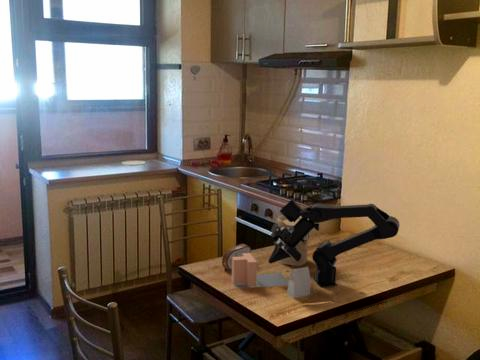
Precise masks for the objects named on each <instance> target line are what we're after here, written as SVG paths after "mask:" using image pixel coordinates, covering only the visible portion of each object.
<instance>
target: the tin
mask: <svg viewBox="0 0 480 360" xmlns="http://www.w3.org/2000/svg"><path fill="white" fill-rule="evenodd" d="M242 253H251V254H252V248H251V247H250V246H249V245H247V244H245V243H240V244H238V245H235V246H231V247H230V248H228V249H227V250H226V251H225V252H224V254H223V255H222V259H221V264H222V267H223V268H224V269H227V270H229V271H232V257H242Z"/></svg>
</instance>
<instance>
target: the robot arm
mask: <svg viewBox="0 0 480 360" xmlns="http://www.w3.org/2000/svg"><path fill="white" fill-rule="evenodd" d="M279 213H280V214H281V215H283V216H284V217H285V218H286V219H287V220H288V221H289V222H295V221H296V220H297V219H298V218H299V217H300V216H301V217H302V218H301V219H300V220H299V221H298V222H297V223H296V224H295V225H294V226H293V227H292V228H291V227H288V228H285V227H281V226H279V225H278V223H274V224H273V225H272V227H271V229H270V232H271V234H270V236H271V237H272V238H273V239H274V241H273V242H274V249H273V250H272V253H271V255H270V257H268V262H267V263H269V264H274V263H277V261H279V260H282V259H285V258H288V257H291V256H292V257H293V258H294V259H295V260H296V261H297V262H298V261H299V260H300V259H301V254H300V253H299V252H298V251H297V250H296V249H297V248H296V246H297V245H298V244H299V243H300V242H301V241H302V242H304V241H305V240H304V238H305V237H306V236H307V235H308V234H310V232H311V231H313V230H315V231H316V232H319V231H320V223H323V222H326V221H330V220H333V219H334V220H335V219H345V218H347V219H348V218H368V219H369V220H370V221H371V222H372V223H373V224H374V225H373V226H372V227H371V228H368V229H365V230H363V231H360V232H359V233H356V234H353V235H350V236H349V237H347V238H344V239H342V240H338V241H337V242H331V240H330V239H328V240H326V241H324V242H320V243H319V244H318V246H317V247H316V248H315V249H314V251H313V253H312V257H311V258H312V261H313V262H314V263H315V265H316V270H315V271H314V279H313V280H314V282H315V283H316V284H317V285H318V286H319V287H320V288H324V287H325V288H326V287H337V286H338V283H337V282H336V277H337V276H336V275H337V267H336V266H335V265H336V263H337V260H338V259H337V258H336V257H337V256H339V255H341V254H342V253H346V252H348V251H350V250H353V249H355V248H358V247H360V246H363V245H366V244H368V243H370V242H373V241H375V240H385V239H391V238H394V237H396V236H397V235H398V232H399V230H400V221H399V219H398V218H396V217H395V216H392V215H391V216H390V215H389V214H388V213H387V212H385V211H384V210H382V209H380V208H379V207H377V205H375V204H374V203H368V204H351V205H332V204H331V205H330V204H328V203H320V202H319V203H316V204H313V206H307V207H304V208H303V207H301V206H300V205H299V204H298V203H297V202H296V200H295V199H294V198H291V199H290V201H288V202H287V203H286V204H285V205H284V206H283V207H282V208H281V209H280V210H279ZM308 219H309V220H308ZM290 255H291V256H290Z"/></svg>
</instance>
